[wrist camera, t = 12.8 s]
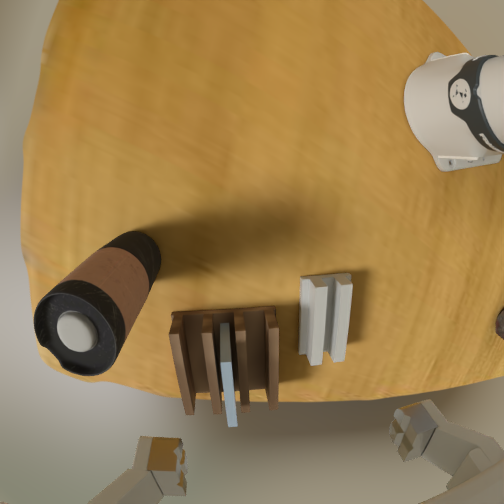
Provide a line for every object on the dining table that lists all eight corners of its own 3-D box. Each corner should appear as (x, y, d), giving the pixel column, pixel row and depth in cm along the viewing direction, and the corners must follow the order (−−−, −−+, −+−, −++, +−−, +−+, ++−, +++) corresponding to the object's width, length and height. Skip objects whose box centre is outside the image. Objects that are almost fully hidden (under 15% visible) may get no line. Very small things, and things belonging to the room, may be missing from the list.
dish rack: (274, 305, 43) (282, 327, 37) (274, 383, 47) (280, 409, 41) (172, 312, 42) (165, 334, 36) (186, 389, 46) (183, 415, 40)
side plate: (229, 322, 42) (231, 361, 33) (234, 384, 45) (237, 426, 36) (220, 323, 42) (220, 362, 33) (226, 384, 45) (228, 427, 36)
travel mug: (165, 232, 39) (116, 299, 19) (161, 288, 41) (122, 386, 22) (109, 225, 38) (26, 283, 18) (108, 280, 40) (40, 366, 21)
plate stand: (348, 272, 42) (359, 283, 39) (341, 345, 46) (350, 359, 42) (300, 276, 42) (307, 288, 38) (297, 351, 45) (303, 366, 41)
